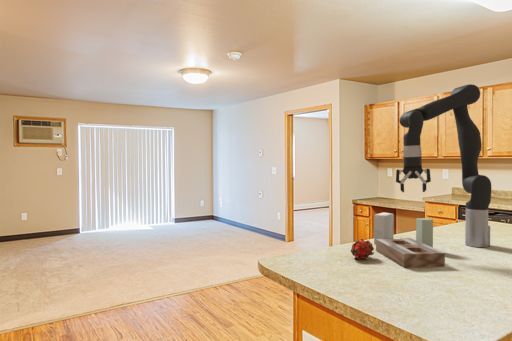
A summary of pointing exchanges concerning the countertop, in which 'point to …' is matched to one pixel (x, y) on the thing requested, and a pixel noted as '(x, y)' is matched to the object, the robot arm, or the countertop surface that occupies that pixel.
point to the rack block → (410, 253)
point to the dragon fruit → (362, 249)
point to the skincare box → (383, 226)
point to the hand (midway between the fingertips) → (413, 192)
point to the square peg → (424, 231)
